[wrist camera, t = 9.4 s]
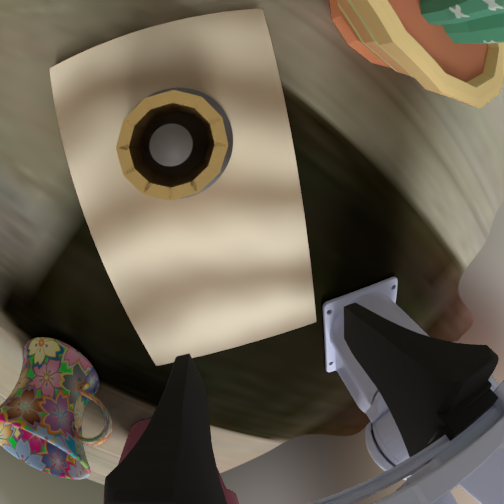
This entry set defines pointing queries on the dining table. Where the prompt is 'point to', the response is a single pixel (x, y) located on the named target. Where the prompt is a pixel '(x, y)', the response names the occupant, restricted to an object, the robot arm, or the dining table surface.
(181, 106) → the brass collar
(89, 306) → the dining table surface
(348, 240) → the dining table surface
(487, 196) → the dining table surface
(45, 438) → the mug
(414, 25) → the potted cactus
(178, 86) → the post board
